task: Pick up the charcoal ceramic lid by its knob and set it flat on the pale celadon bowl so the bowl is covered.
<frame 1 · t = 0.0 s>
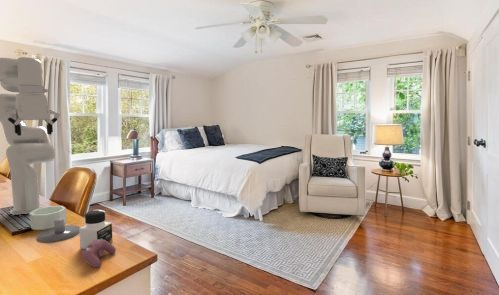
hand: (34, 134, 108), 37 cm above the table, tool pointing down, fingers open, 9 cm apart
lid: (60, 235, 103), on the table
video game controller: (99, 260, 85), on the table
bowl: (49, 224, 112), on the table
medicine bottle: (96, 245, 94), on the table
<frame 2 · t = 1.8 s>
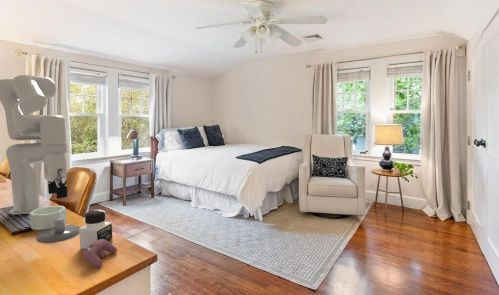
hand: (57, 195, 101), 15 cm above the table, tool pointing down, fingers open, 9 cm apart
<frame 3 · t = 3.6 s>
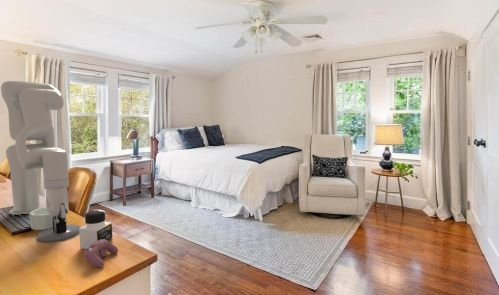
hand: (59, 230, 102), 1 cm above the table, tool pointing down, fingers closed on lid, 3 cm apart
lid: (60, 234, 103), on the table, touching gripper
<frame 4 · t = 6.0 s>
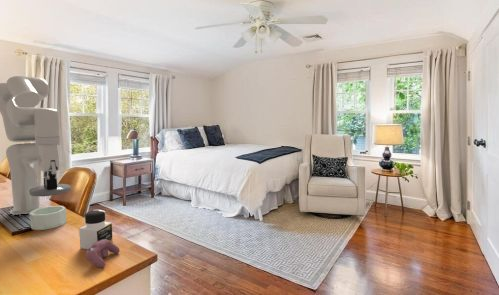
hand: (50, 187, 106), 16 cm above the table, tool pointing down, fingers closed on lid, 3 cm apart
lid: (50, 191, 106), point 15 cm above the table, touching gripper
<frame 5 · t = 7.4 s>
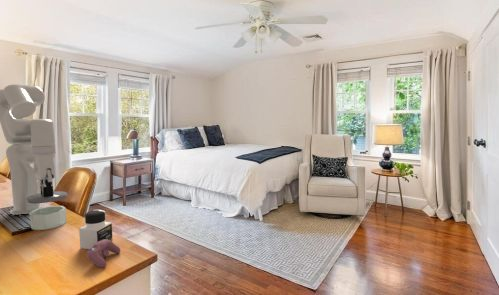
hand: (47, 195, 110), 12 cm above the table, tool pointing down, fingers closed on lid, 3 cm apart
lid: (47, 198, 110), point 11 cm above the table, touching gripper
when the fingers open (9 cm above the table, at t = 8.3 s): lid drops 1 cm, resting on bowl.
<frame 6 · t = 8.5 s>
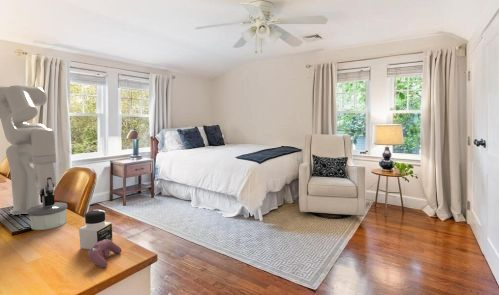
hand: (47, 203, 111), 9 cm above the table, tool pointing down, fingers open, 5 cm apart
lid: (48, 210, 111), point 6 cm above the table, touching bowl
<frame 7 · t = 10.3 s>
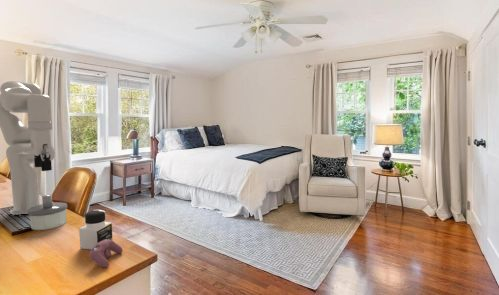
hand: (43, 168, 110), 23 cm above the table, tool pointing down, fingers open, 9 cm apart
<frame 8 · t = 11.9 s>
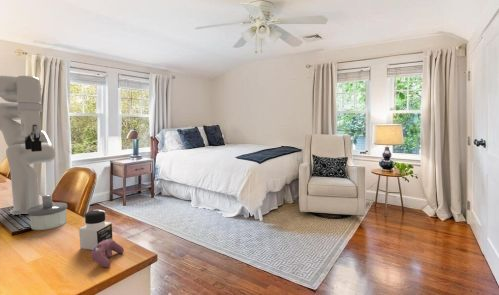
hand: (33, 150, 111), 30 cm above the table, tool pointing down, fingers open, 9 cm apart
at the end: lid 0.1 cm off-centre on the bowl, point 6.0 cm above the bowl's base; lid tilted 0°; the gripper is holding nothing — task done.
